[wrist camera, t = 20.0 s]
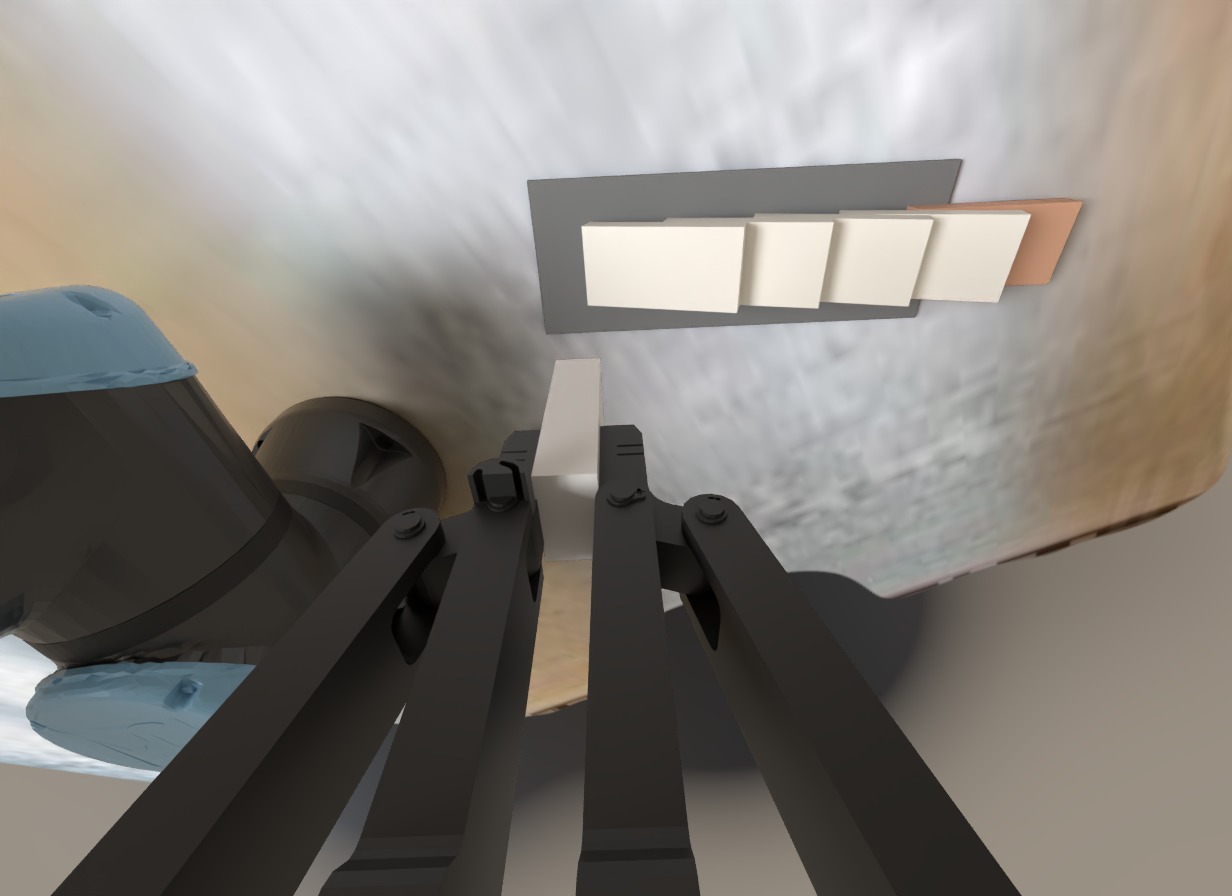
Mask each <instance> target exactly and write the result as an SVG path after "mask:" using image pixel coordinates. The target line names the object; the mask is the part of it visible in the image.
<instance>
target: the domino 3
mask: <svg viewBox="0 0 1232 896" xmlns="http://www.w3.org/2000/svg"><path fill="white" fill-rule="evenodd" d="M753 218H832V219H833V222H834V224H833V229H832V235H831V240H830V246H829V251H828V257H827V262H826V268H825V274H824V279H823V285H822V290H821V296H820V301H819V302H835V303H853V304H871V305H889V306H907V307H908V306H909V303H910V299H911V296H912V292H913V289H914V286H915V282H916V279H917V275H918V272H919V268H920V265H921V262H922V258H923V255H924V251H925V248H926V245H927V241H928V238H929V234H930V231H931V227H932V224H933V221H934V219H932V218H931V217H930V216H929V215H878V214H781V213H755V215H754V217H753Z"/></svg>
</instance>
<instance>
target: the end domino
mask: <svg viewBox="0 0 1232 896" xmlns="http://www.w3.org/2000/svg"><path fill="white" fill-rule="evenodd" d="M1082 203H1083V201H1077V200H1071V199H1065V198H1058V199H1038V200H1018V201H998V202H978V203H958V204H939V205H919V206H907V209H906V210H1023V211H1025V212H1027V213H1029V214H1031V217H1030V219H1029V222H1028V225H1027V227H1026V230H1025V232H1024V235H1023V238H1022V240H1021V243H1020V246H1019V248H1018V251H1017V253H1016V256H1015V259H1014V261H1013V264H1012V267H1011V269H1010V272H1009V274H1008V277H1007V280H1006V282H1005V285H1004V286H1011V285H1032V284H1048V282H1049V280H1050V278H1051V275H1052V273H1053V271H1054V268H1055V266H1056V264H1057V261H1058V259H1059V257H1060V254H1061V252H1062V250H1063V247H1064V245H1065V243H1066V240H1067V238H1068V236H1069V233H1070V231H1071V229H1072V226H1073V224H1074V222H1075V219H1076V217H1077V215H1078V212H1079V210H1080V208H1081V205H1082Z"/></svg>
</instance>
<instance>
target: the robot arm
mask: <svg viewBox="0 0 1232 896" xmlns="http://www.w3.org/2000/svg"><path fill="white" fill-rule="evenodd" d="M197 372H198V370H197V369H196V367H195V366H194V365H193V364H192V363H191V362H189V361H186V360H184V359H183V358H182V356H181V355H180V354H179V353H178V352H177V350H176V349H175V348H174V347H173V345H172V344H171V343H170V342H169V341H168V339H167V338H166V337H165V336H164V335H163V333H162V332H161V331H160V330H159V328H158V327H157V326H156V325H155V324H154V322H153V321H152V320H151V319H150V317H149V316H148V315H147V314H146V313H145V311H144V310H143V309H142V308H140V307H139V306H138V305H137V304H136V303H134V302H133V301H132V300H130V299H129V298H127V297H125V296H124V295H122V294H119V293H117V292H114V291H112V290H109V289H105V288H101V287H97V286H90V285H70V286H60V287H52V288H44V289H37V290H29V291H22V292H15V293H8V294H2V295H0V639H1V638H2V637H5V636H7V635H10V634H13V635H15V636H17V637H18V638H20V639H22V640H23V641H25V642H26V643H27V644H29V645H30V646H32V647H33V648H34V649H36V650H37V651H39V652H40V653H42V654H43V655H44V656H46V657H47V658H49V659H50V660H52V661H53V662H54V663H55V664H56V665H57V671H55V672H54V673H53V674H50V675H49V676H47V677H46V678H44V679H42V680H41V681H40V682H39V683H38V684H37V686H36V687H35V694H34V696H33V697H32V698H31V700H30V701H29V703H28V705H27V707H26V716H27V718H28V720H29V721H30V723H31V727H32V729H33V730H34V731H35V732H36V733H38V734H39V735H40V736H42V737H43V738H45V739H47V740H48V741H50V742H52V743H53V744H55V745H57V746H60V747H62V748H64V749H67V750H69V751H71V752H74V753H77V754H80V755H83V756H86V757H90V758H93V759H97V760H100V761H104V762H107V763H112V764H116V765H121V766H125V767H131V768H137V769H143V770H150V771H158V772H161V773H160V774H159V775H158V776H157V777H156V779H155V780H154V781H153V782H152V783H151V784H150V785H149V786H148V788H147V789H146V790H145V791H144V792H143V793H142V794H141V795H140V796H139V798H138V799H137V800H136V801H135V802H134V803H133V804H132V805H131V807H130V808H129V809H128V810H127V811H126V812H125V813H124V814H123V816H122V817H121V818H120V819H119V820H118V821H117V822H116V823H115V824H114V826H113V827H112V828H111V829H110V830H109V831H108V832H107V833H106V835H105V836H104V837H103V838H102V839H101V840H100V841H99V842H98V843H97V845H96V846H95V847H94V848H93V849H92V850H91V851H90V853H88V855H87V856H86V857H85V858H84V859H83V860H82V861H81V862H80V864H79V865H78V866H77V867H76V868H75V869H74V870H73V871H72V873H71V874H70V875H69V876H68V877H67V878H66V879H65V880H64V881H63V883H62V884H61V885H60V886H59V887H58V888H57V889H56V890H55V892H54V893H53V894H52V895H51V896H293V895H294V893H295V892H296V890H297V888H298V887H299V885H300V883H301V882H302V880H303V878H304V876H305V875H306V873H307V871H308V870H309V868H310V866H311V864H312V863H313V861H314V859H315V857H316V856H317V854H318V852H319V851H320V849H321V847H322V846H323V844H324V842H325V840H326V839H327V837H328V835H329V834H330V832H331V830H332V829H333V827H334V825H335V823H336V822H337V820H338V818H339V817H340V815H341V813H342V811H343V810H344V808H345V806H346V805H347V803H348V801H349V799H350V797H351V796H352V794H353V793H354V791H355V789H356V787H357V786H358V784H359V782H360V781H361V779H362V777H363V776H364V774H365V772H366V770H367V769H368V767H369V765H370V764H371V762H372V760H373V758H374V757H375V755H376V753H377V752H378V750H379V748H380V746H381V745H382V743H383V741H384V740H385V738H386V736H387V734H388V733H389V731H390V729H391V728H392V726H393V724H394V723H395V721H396V719H397V717H398V716H399V714H400V712H401V711H402V709H403V707H404V705H405V704H406V705H405V708H404V711H403V714H402V717H401V720H400V723H399V726H398V729H397V732H396V734H395V737H394V740H393V743H392V746H391V749H390V752H389V755H388V758H387V761H386V764H385V767H384V770H383V773H382V776H381V778H380V781H379V784H378V788H377V790H376V793H375V796H374V799H373V802H372V805H371V808H370V811H369V813H368V816H367V819H366V822H365V825H364V828H363V832H362V834H361V837H360V840H359V842H358V844H357V847H356V849H355V851H354V853H353V854H352V856H351V857H350V859H349V860H348V861H347V862H345V863H344V864H343V865H341V866H340V867H338V868H337V869H336V870H334V871H333V872H332V874H331V875H330V876H329V878H328V880H327V881H326V882H325V884H324V885H323V887H322V888H321V891H320V893H319V895H318V896H501V892H502V885H503V876H504V869H505V862H506V855H507V847H508V840H509V832H510V825H511V818H512V810H513V803H514V795H515V788H516V780H517V773H518V766H519V758H520V750H521V743H522V735H523V728H524V721H525V713H526V706H527V699H528V691H529V684H530V676H531V669H532V661H533V654H534V646H535V639H536V632H537V624H538V617H539V609H540V602H541V594H542V587H543V580H544V576H543V569H542V563H541V562H542V555H543V549H544V555H545V561H568V560H592V559H593V562H592V590H591V618H590V645H589V673H588V701H587V728H586V756H585V784H584V811H583V836H582V849H581V854H580V858H579V862H578V871H577V882H576V896H700V890H699V884H698V875H697V870H696V864H695V858H694V855H693V852H692V849H691V844H690V838H689V830H688V822H687V813H686V804H685V795H684V786H683V777H682V768H681V760H680V751H679V742H678V733H677V725H676V715H675V706H674V699H673V689H672V680H671V671H670V663H669V653H668V645H667V637H666V627H665V618H664V609H663V600H662V591H661V588H663V589H667V590H671V591H676V592H679V594H680V598H681V601H682V603H683V605H684V607H685V609H686V611H687V614H688V616H689V618H690V620H691V622H692V624H693V626H694V629H695V631H696V633H697V635H698V637H699V639H700V642H701V644H702V646H703V648H704V650H705V653H706V654H707V657H708V659H709V661H710V663H711V666H712V668H713V670H714V672H715V674H716V676H717V678H718V681H719V683H720V685H721V687H722V689H723V691H724V694H725V696H726V698H727V700H728V702H729V705H730V707H731V709H732V711H733V713H734V715H735V718H736V720H737V722H738V724H739V726H740V728H741V731H742V733H743V735H744V737H745V739H746V742H747V744H748V746H749V748H750V750H751V752H752V755H753V757H754V759H755V761H756V763H757V765H758V768H759V770H760V772H761V774H762V776H763V778H764V781H765V783H766V785H767V787H768V789H769V791H770V793H771V796H772V798H773V800H774V802H775V804H776V806H777V809H778V811H779V813H780V815H781V817H782V820H783V822H784V824H785V826H786V828H787V830H788V833H789V834H790V837H791V839H792V841H793V843H794V846H795V848H796V850H797V852H798V854H799V856H800V858H801V861H802V863H803V865H804V867H805V870H806V872H807V874H808V876H809V878H810V880H811V883H812V885H813V887H814V889H815V891H816V893H817V896H1021V894H1020V893H1019V892H1018V890H1017V889H1016V887H1015V886H1014V885H1013V884H1012V882H1011V881H1010V879H1009V878H1008V876H1007V875H1006V874H1005V872H1004V871H1003V869H1002V868H1001V867H1000V865H999V864H998V863H997V861H996V860H995V859H994V857H993V856H992V854H991V853H990V852H989V850H988V849H987V848H986V846H985V845H984V843H983V842H982V841H981V839H980V838H979V836H978V835H977V834H976V832H975V831H974V830H973V828H972V827H971V826H970V824H969V823H968V821H967V820H966V819H965V817H964V816H963V814H962V813H961V812H960V810H959V809H958V808H957V806H956V805H955V803H954V802H953V801H952V799H951V798H950V797H949V795H948V794H947V792H946V791H945V790H944V788H943V787H942V786H941V784H940V783H939V782H938V780H937V779H936V777H935V776H934V775H933V773H932V772H931V770H930V769H929V768H928V766H927V765H926V764H925V762H924V761H923V759H922V758H921V757H920V755H919V754H918V753H917V751H916V750H915V748H914V747H913V746H912V744H911V743H910V742H909V740H908V739H907V737H906V736H905V735H904V733H903V732H902V730H901V729H900V728H899V726H898V725H897V724H896V722H895V721H894V719H893V718H892V717H891V716H890V714H889V713H888V711H887V710H886V709H885V707H884V706H883V704H882V703H881V702H880V700H879V699H878V697H877V696H876V695H875V693H874V692H873V691H872V689H871V688H870V687H869V685H868V684H867V682H866V681H865V680H864V678H863V677H862V675H861V674H860V673H859V671H858V670H857V669H856V667H855V666H854V664H853V663H852V662H851V660H850V659H849V658H848V656H847V655H846V653H845V652H844V651H843V649H842V648H841V647H840V645H839V644H838V642H837V641H836V640H835V638H834V637H833V636H832V634H831V633H830V631H829V630H828V629H827V627H826V626H825V625H824V623H823V622H822V621H821V619H820V618H819V616H818V615H817V614H816V612H815V611H814V609H813V608H812V607H811V606H810V604H809V603H808V601H807V600H806V599H805V597H804V596H803V594H802V593H801V592H800V590H799V589H798V587H797V586H796V585H795V584H794V582H793V581H792V579H791V578H790V576H789V575H788V574H787V572H786V571H785V570H784V568H783V567H782V565H781V564H780V563H779V561H778V560H777V559H776V557H775V556H774V554H773V553H772V552H771V550H770V549H769V547H768V546H767V545H766V543H765V542H764V541H763V539H762V538H761V536H760V535H759V534H758V532H757V531H756V530H755V528H754V527H753V525H752V524H751V523H750V521H749V520H748V519H747V517H746V516H745V514H744V513H743V512H742V510H741V509H740V508H739V506H738V505H736V504H735V503H734V502H733V501H732V500H730V499H728V498H726V497H724V496H720V495H714V494H702V495H698V496H695V497H692V498H690V499H689V500H688V501H687V502H686V503H684V506H677V505H672V504H669V503H665V502H663V501H661V500H659V499H657V498H656V497H655V496H654V495H652V493H651V492H650V491H649V488H648V483H647V474H646V466H645V457H644V448H643V439H642V433H641V432H640V431H639V430H638V429H637V428H636V426H635V425H614V426H604V410H603V394H602V379H601V363H600V358H590V359H568V360H556V362H555V366H554V371H553V376H552V381H551V385H550V390H549V395H548V399H547V404H546V409H545V413H544V418H543V423H542V427H541V430H529V431H514V432H513V433H512V434H511V435H510V436H509V437H508V438H507V439H506V440H505V442H504V445H503V448H502V451H501V454H500V457H499V458H495V459H490V460H487V461H484V462H482V463H480V464H478V465H477V466H475V467H474V468H472V469H471V471H470V472H469V474H468V475H467V476H468V480H469V484H470V488H471V492H472V496H473V499H474V506H473V509H472V510H470V511H469V512H467V513H464V514H461V515H458V516H454V517H450V518H446V519H442V520H440V517H439V515H438V513H439V511H440V509H441V506H442V504H443V501H444V498H445V494H446V477H445V472H444V469H443V466H442V463H441V461H440V459H439V457H438V455H437V453H436V452H435V450H434V449H433V447H432V446H431V444H430V443H429V442H428V441H427V440H426V439H425V437H424V436H423V435H422V434H421V433H420V432H419V431H417V430H416V429H415V428H414V427H413V426H412V425H410V424H409V423H408V422H406V421H405V420H403V419H402V418H400V417H399V416H397V415H395V414H393V413H391V412H389V411H387V410H385V409H383V408H381V407H378V406H376V405H373V404H370V403H367V402H363V401H359V400H354V399H349V398H339V397H325V398H316V399H311V400H307V401H304V402H301V403H298V404H296V405H294V406H292V407H290V408H289V409H287V410H286V411H284V412H283V413H282V414H281V415H280V416H278V417H277V418H276V419H275V420H274V421H273V422H272V423H271V424H270V425H268V426H267V427H266V428H265V430H264V431H263V432H262V433H261V435H260V436H259V438H258V439H257V441H256V443H255V445H254V448H253V451H252V452H251V451H250V449H249V448H248V447H247V445H246V444H245V443H244V441H243V440H242V439H241V437H240V436H239V435H238V433H237V432H236V431H235V429H234V428H233V427H232V425H231V424H230V423H229V422H228V420H227V419H226V418H225V416H224V415H223V414H222V412H221V411H220V409H219V408H218V407H217V405H216V404H215V402H214V401H213V400H212V398H211V397H210V396H209V394H208V393H207V391H206V390H205V389H204V387H203V386H202V384H201V383H200V382H199V380H198V379H197V378H196V376H195V374H197Z"/></svg>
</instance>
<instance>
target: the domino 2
mask: <svg viewBox="0 0 1232 896" xmlns="http://www.w3.org/2000/svg"><path fill="white" fill-rule="evenodd" d="M663 222H747V229H746V240H745V251H744V262H743V274H742V285H741V296H740V305H749V306H772V307H795V308H817V309H818V307H819V301H820V296H821V290H822V285H823V279H824V274H825V268H826V262H827V257H828V251H829V246H830V240H831V235H832V229H833V224H834V222H833V219H832V218H667V219H666V220H664V221H663Z"/></svg>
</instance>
